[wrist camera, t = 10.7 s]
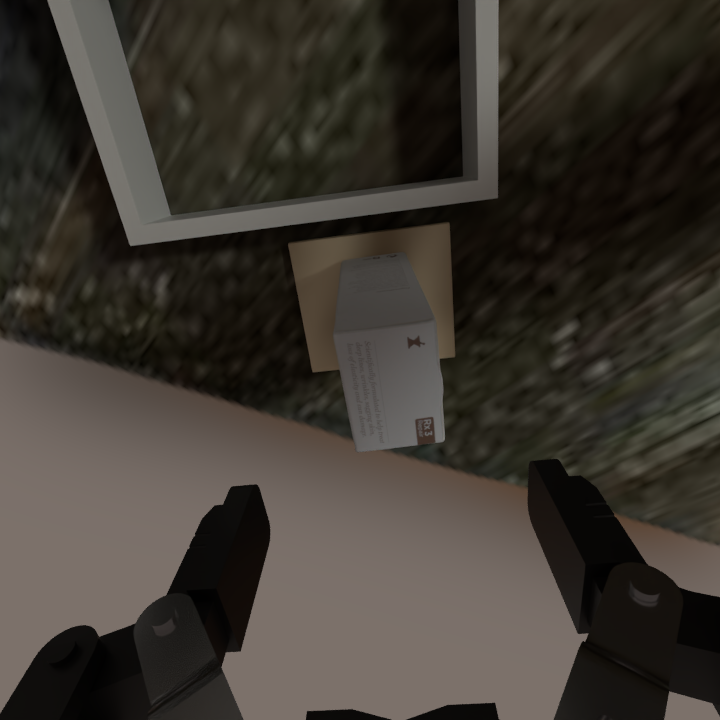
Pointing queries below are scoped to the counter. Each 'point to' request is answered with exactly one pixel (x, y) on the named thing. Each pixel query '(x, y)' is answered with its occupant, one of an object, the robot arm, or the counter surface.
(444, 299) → the mat
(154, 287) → the counter surface
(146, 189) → the case
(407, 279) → the skincare box
